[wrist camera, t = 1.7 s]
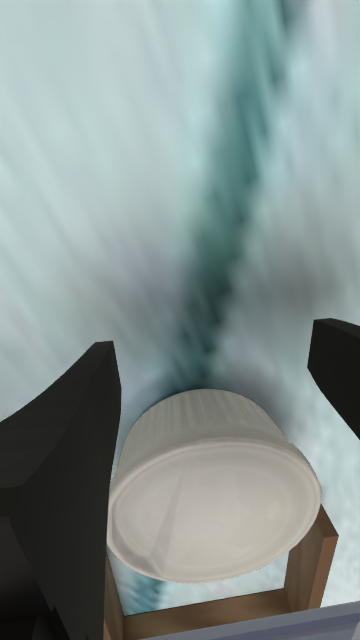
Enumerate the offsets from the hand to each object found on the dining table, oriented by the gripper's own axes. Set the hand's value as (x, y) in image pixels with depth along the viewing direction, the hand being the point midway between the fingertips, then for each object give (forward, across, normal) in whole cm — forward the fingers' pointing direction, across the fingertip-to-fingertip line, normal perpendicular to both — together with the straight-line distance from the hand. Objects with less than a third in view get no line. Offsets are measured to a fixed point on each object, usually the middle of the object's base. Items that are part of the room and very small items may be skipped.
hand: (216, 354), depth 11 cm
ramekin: (+6, 0, +10) cm, 12 cm away
